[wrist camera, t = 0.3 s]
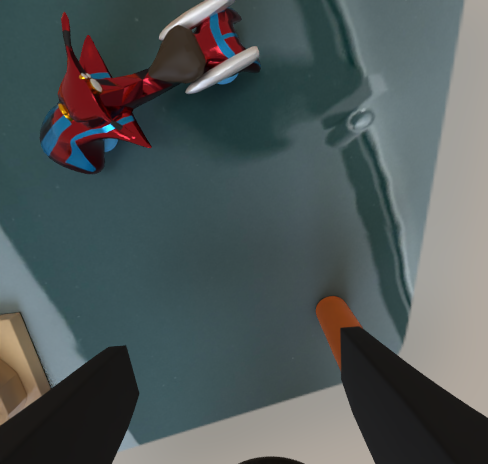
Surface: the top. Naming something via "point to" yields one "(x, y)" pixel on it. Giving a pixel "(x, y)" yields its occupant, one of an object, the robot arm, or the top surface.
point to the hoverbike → (139, 84)
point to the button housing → (18, 368)
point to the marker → (335, 321)
